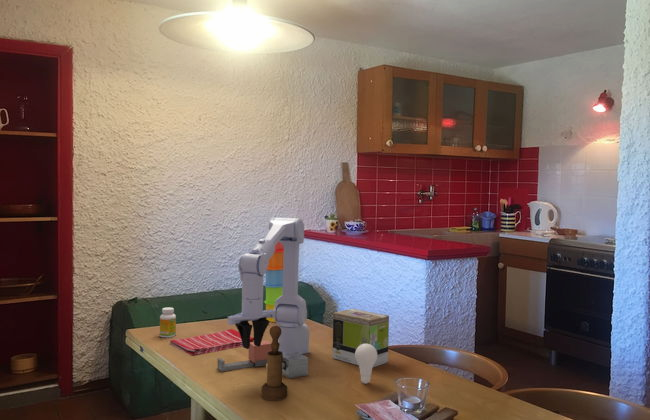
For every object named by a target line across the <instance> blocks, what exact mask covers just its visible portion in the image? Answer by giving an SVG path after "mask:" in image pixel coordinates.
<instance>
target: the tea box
mask: <svg viewBox="0 0 650 420" xmlns="http://www.w3.org/2000/svg"><path fill="white" fill-rule="evenodd" d="M332 315H333V317H332V318H333V320H332V321H333V322H332V359H335V360H337V361H342V362H345V363H350V364H352V365H357V366H359V365H358V363H357V361H356V358H355V351H356V349H357V348H358V347H359V346H360V345H362V344H370V345H372V346H373V347H374V348H375V349H376V351H377V360H376V362H375V363H374V365H373V367H372V369H373V368H376V367H379V366H380V365H384V364H387V363H388V362H389V337H390V336H389V335H390V334H389V332H390V331H389V330H390V315H388V314H382V313H377V312H371V311H367V310H363V309H362V310H361V309H356V308H349V309H344V310H339V311H336V312H333V313H332Z"/></svg>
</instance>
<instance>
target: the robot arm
mask: <svg viewBox="0 0 650 420" xmlns="http://www.w3.org/2000/svg"><path fill="white" fill-rule="evenodd" d="M303 221H304V220H302V218H300V217H296V218H294V217H290V218H289V217H276V216H273V217H271V219H270V221H269V223H268V231H267V233H266V235H265V237H264V238H260V239H259V240H258V241H257V242H256V243H255V244H254V246H253V247H252V248H251V250H250V251H249V252H248V253H244V254H242V255H241V256H240V258H239V261H238V265H237V266H238V267H237V268H238V272H239V275H240V276H239V279H240V281H241V285H242V286H241V312H239V313H236V314H234V315H230V316H227V325H230V326H235V328H236V329H237V331H238V332H239V333H240V336H241V339H242V344H243V346H242V348H244V349H246V350H249V347H250V337H251V334H252V330H253V337H254V341H253V342H254V345H256V346H258V347H259V346H260V345H261V341H263V337H264V334H265V332H266V330H267V328H268V326H269V325H270V322H269V320H266V318H274V320H275V322H274V323H276V326H279V327H280V328H281V335H280V337H279V339H278V343H279V344H280V346H279V350H278V351H281V352H282V353H283V354H289V353H296V352H299V353H301V354H302V355H304V354H310V352H311V351H310V331H309V330H310V329H309V327H308V325H307V324H306V321H307V317H308V309H307V303H306V302H307V301H306V300H305V299H304V298H303V297H302V296H300V294H298V293H299V292H298V291H299V262H300V261H299V258H300V257H299V256H300V244H303V243H304V242H305V241H304V239H305V224H304V222H303ZM278 242H281V244H282V245H283V246H284V256H283V293H282V296H280V297H279V298H277V299H276V301H275V307H274V310H272V309H271V310H266V309H264V276H265V275H266V271H267V266H268V263H269V259H270V258H271V257H272V255H273V254H274V252H275V245H276V244H277V243H278ZM263 309H264V310H263ZM250 322H252V324H250Z"/></svg>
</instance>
